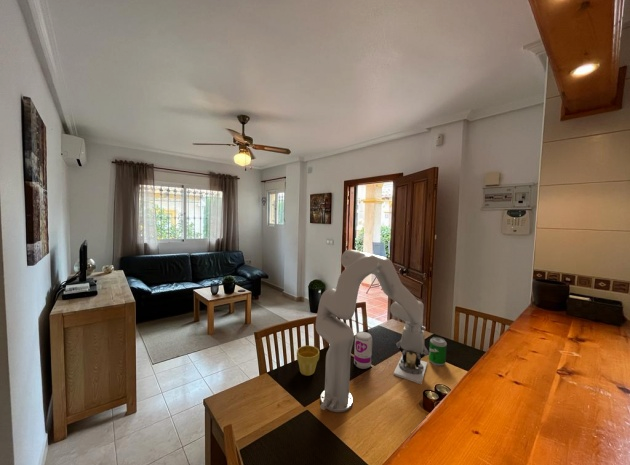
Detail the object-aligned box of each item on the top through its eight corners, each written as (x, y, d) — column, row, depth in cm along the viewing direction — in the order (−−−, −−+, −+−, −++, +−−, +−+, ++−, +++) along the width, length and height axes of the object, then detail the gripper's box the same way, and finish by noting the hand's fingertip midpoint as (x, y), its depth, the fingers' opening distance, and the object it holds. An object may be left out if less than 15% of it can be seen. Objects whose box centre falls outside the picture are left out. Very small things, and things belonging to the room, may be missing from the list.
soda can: (441, 359, 135) (443, 336, 134) (447, 367, 127) (449, 344, 126) (426, 358, 135) (428, 335, 134) (431, 366, 128) (433, 342, 127)
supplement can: (366, 371, 122) (367, 340, 121) (350, 365, 127) (352, 335, 126) (373, 364, 129) (375, 334, 127) (358, 357, 134) (360, 329, 132)
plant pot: (314, 380, 115) (315, 359, 114) (292, 375, 118) (293, 354, 117) (321, 367, 124) (322, 347, 124) (301, 362, 128) (301, 343, 127)
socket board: (421, 384, 114) (421, 379, 114) (393, 374, 120) (393, 370, 120) (427, 364, 130) (427, 359, 130) (402, 356, 136) (402, 352, 136)
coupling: (417, 365, 126) (419, 348, 125) (415, 372, 121) (416, 353, 120) (406, 362, 129) (407, 344, 128) (403, 368, 124) (405, 350, 123)
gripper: (434, 328, 122) (431, 365, 124) (396, 319, 131) (394, 354, 132) (432, 334, 116) (429, 374, 117) (393, 325, 124) (391, 361, 126)
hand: (411, 363), depth 125 cm, fingers closed on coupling, 5 cm apart
